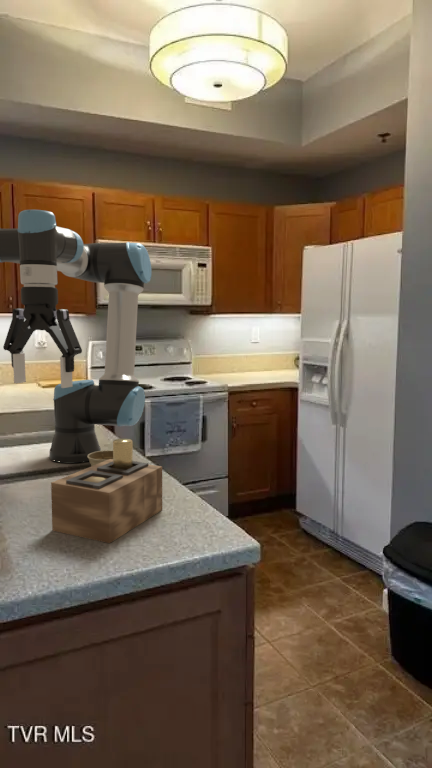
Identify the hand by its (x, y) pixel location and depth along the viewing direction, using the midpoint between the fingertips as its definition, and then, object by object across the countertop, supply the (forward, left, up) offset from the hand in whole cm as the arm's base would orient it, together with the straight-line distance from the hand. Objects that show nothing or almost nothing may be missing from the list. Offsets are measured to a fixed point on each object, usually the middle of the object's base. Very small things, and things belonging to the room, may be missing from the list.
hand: (42, 385), depth 120 cm
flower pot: (-18, +4, -28) cm, 33 cm away
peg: (-6, +17, -20) cm, 27 cm away
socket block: (-1, +17, -28) cm, 33 cm away
